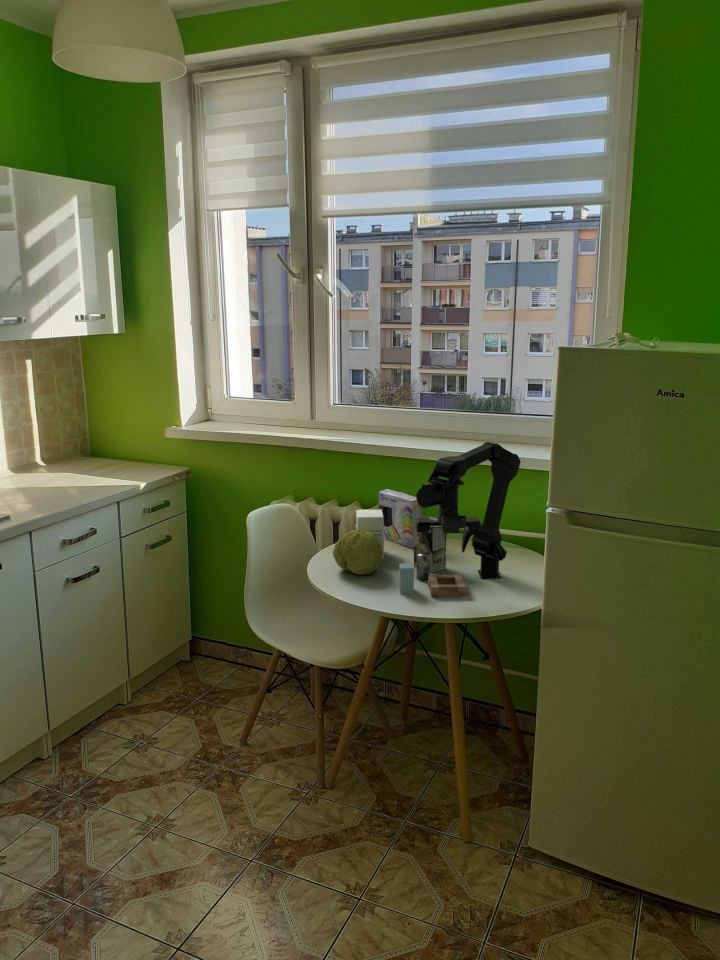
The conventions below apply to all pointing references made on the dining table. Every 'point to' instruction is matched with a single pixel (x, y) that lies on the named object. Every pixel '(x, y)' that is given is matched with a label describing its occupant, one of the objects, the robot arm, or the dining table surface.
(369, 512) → the supplement box
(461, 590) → the socket block
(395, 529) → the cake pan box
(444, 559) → the coffee box
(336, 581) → the dining table surface
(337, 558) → the fruit
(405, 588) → the square peg
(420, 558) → the round peg
